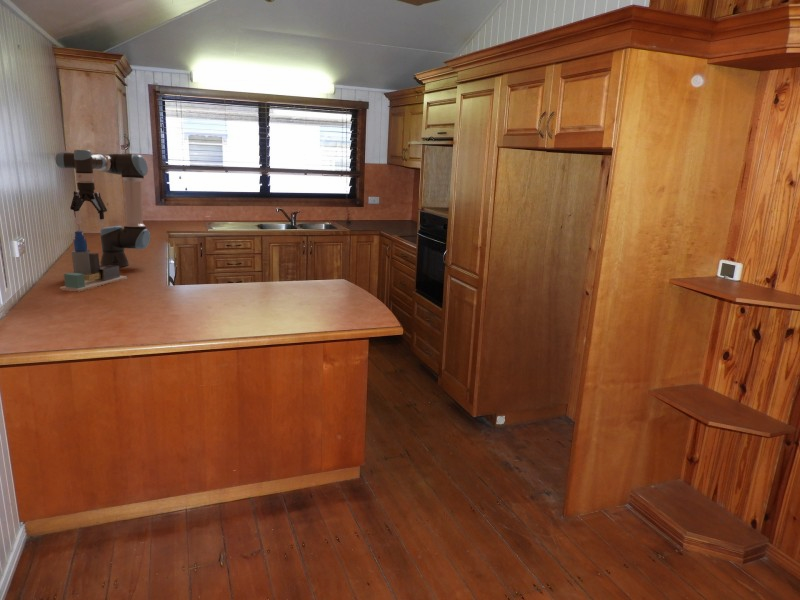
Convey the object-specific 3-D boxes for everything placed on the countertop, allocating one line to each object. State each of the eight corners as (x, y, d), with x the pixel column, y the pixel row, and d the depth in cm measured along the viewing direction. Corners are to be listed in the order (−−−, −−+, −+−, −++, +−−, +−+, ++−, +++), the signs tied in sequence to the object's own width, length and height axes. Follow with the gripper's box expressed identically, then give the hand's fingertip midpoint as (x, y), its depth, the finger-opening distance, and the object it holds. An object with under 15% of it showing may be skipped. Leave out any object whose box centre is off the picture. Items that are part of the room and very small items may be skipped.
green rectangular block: (72, 285, 281) (70, 272, 280) (85, 286, 279) (83, 273, 277) (65, 286, 278) (63, 274, 276) (78, 288, 275) (77, 275, 274)
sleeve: (110, 275, 304) (109, 264, 302) (120, 276, 302) (118, 265, 301) (94, 279, 294) (93, 268, 292) (104, 280, 292) (103, 269, 290)
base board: (109, 276, 307) (109, 274, 306) (127, 278, 304) (127, 276, 303) (59, 289, 277) (59, 287, 277) (79, 291, 274) (79, 289, 274)
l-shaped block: (112, 273, 303) (109, 249, 299) (116, 273, 302) (114, 249, 298) (84, 280, 285) (81, 255, 282) (89, 281, 285) (86, 255, 281)
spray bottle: (96, 276, 307) (91, 230, 301) (87, 279, 298) (82, 232, 292) (80, 275, 307) (75, 229, 301) (71, 279, 299) (65, 232, 292)
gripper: (59, 181, 278) (64, 224, 283) (100, 183, 271) (104, 227, 277) (71, 180, 285) (76, 222, 290) (112, 182, 278) (116, 225, 284)
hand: (90, 225), depth 283 cm, fingers open, 13 cm apart
